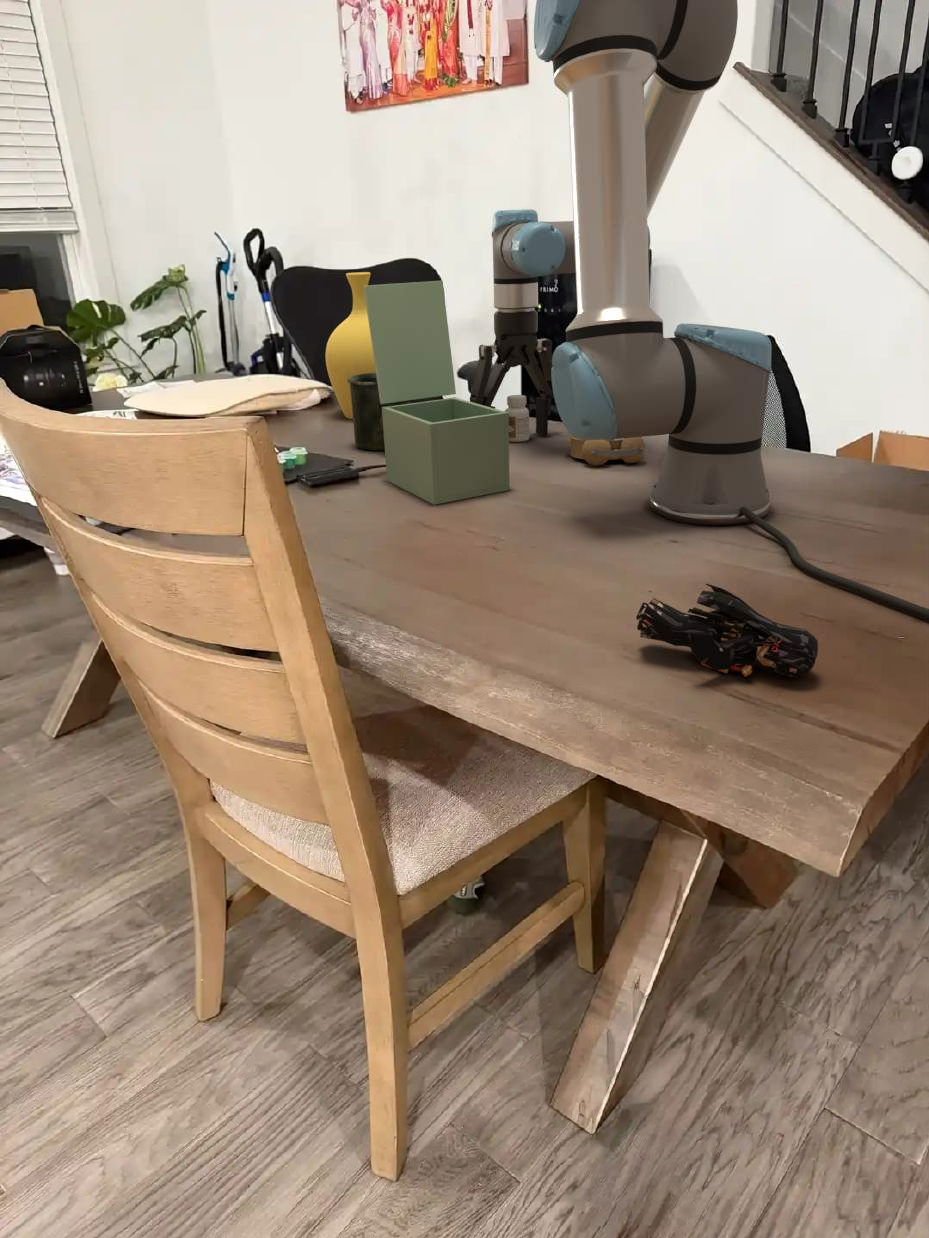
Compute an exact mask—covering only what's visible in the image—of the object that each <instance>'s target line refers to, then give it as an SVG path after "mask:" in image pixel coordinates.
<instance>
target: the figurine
mask: <svg viewBox="0 0 929 1238" xmlns="http://www.w3.org/2000/svg"><path fill="white" fill-rule="evenodd" d="M705 585H706V586H708V587H710V588H711V590H712V591H709V590H702V591H701V592H700V594H699V595H698V598H697V601H696V604H698V605H700V606H703V607H707V608H710V609H713V610H710V611H709V610H704V609H701V608H698V607H692V608H689V609H688V610H687V612H683V611H681V610H679V609H676V608H675V607H673V606H671V605H669V604H667V603H665V602H663V601H661V600H660V599H658V598H656V597H652V599H651V600H650V602H648V603H647V602H642V603H641V606H640V608H639V610H638V612H637V615H636V616H635V618H636V619H637V621H638V623H637V627H636V629H637V631H640V638H644V639H648V640H654V641H659V642H664V643H667V644H669V645H672V646H674V647H687V648H690V651H691V653H692V654H693V655H694V658H695V659H697V660H698V662H699V663H700V664H701V666H704V667H706V668H709V669H711V670H714V671H718V672H722V673H725V674H728V673H729V672H731V673H735V674H739V675H743V676H744V677H748V676H750V675H751V674H752V673H753V671H754V667H755V664H756V660H758V662H759V663H760V664H761V665H763V666H766V667H771V668H773V669H774V670H773V672H774V673H777V674H779V675H781V676H787V677H789V678H791V677H793V678H798V677H802V676H804V675H807V674H809V672H811V671H812V670H813V668H814V666H815V664H816V659H817V658H818V653H819V641H818V639H817V638H816V637H815V635H813V634H812V633H811V632H809V631H808V630H807V629H804V628H800V627H795V626H791V625H787V624H782V623H779V622H777V621H773V620H771V619H770V618H768V617H766V616H764V615H762V614H761V613H759V612H757V610H755V609H754V608H753V607H752V606H750V605H749V604H748V603H747V602H745V601H744V600H743V599H742V598H740V597H739V596H737V595H736V594H734V593H733V592H731V591H728V590H726V589H724V588H722V587H719V586H715V585H712V584H710V583H705ZM759 647H760V648H759ZM758 648H759V650H758Z"/></svg>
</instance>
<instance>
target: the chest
mask: <svg viewBox="0 0 929 1238" xmlns="http://www.w3.org/2000/svg"><path fill="white" fill-rule="evenodd" d="M382 417H383V431H384V444H385V450H384V456H385V457H384V458H385V469H386V471H385V472H386V481H387V482H388V483H391V484H392V485H395V486H396V487H398V488H399V489H402V490H404V491H406V492H408V493H410V494H412V495H414V496H416V497H418V498H420V499H422V500H423V501H426V502H428V503H430V504H431V505H434V506H435V505H441V504H445V503H450V502H456V501H461V500H466V499H471V498H476V497H482V496H486V495H492V494H496V493H502V492H505V491H506V492H507V491H510V441H509V413H508V412H505V410H501V409H498V408H495V409H494V408H491V407H487V406H483V405H480V404H476V403H473V402H470V400H465V399H462V398H458V397H448V398H440V399H432V400H426V401H418V402H411V403H410V402H409V403H408V404H403V405H395V406H388V407H382Z"/></svg>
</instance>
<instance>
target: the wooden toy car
mask: <svg viewBox="0 0 929 1238" xmlns="http://www.w3.org/2000/svg"><path fill="white" fill-rule="evenodd" d="M569 439H570V453H569V454H570V457H572V458H575V459H580V460H584V461H585V462H586V463H587V464H589V465H590V466H595V467H596V466H602V465H604V464H606V463H607V462H608V461H610V460H623V462H624V463H626V464H634V463H637V462H638V461H640V460H641V459H642V458H643V456H644V454H645V451H646V444H645V441H644V439H643V437H633V438H622V439H614V440H611V441H605V440H581V439H578V438H576V437H574V436H573V435H572V434H571V435H570V436H569Z"/></svg>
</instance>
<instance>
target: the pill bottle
mask: <svg viewBox="0 0 929 1238" xmlns="http://www.w3.org/2000/svg"><path fill="white" fill-rule="evenodd" d="M506 405H507V408H506V409H504V411H505V412H508V413H509V443H510V442H511V443H522V442H526V441H528V440H529V439H530V411H529V409H528V408H527V407H526V405H527V396H526V395H523V394H512V395H511V394H510V395H508V396H507V397H506Z"/></svg>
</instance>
